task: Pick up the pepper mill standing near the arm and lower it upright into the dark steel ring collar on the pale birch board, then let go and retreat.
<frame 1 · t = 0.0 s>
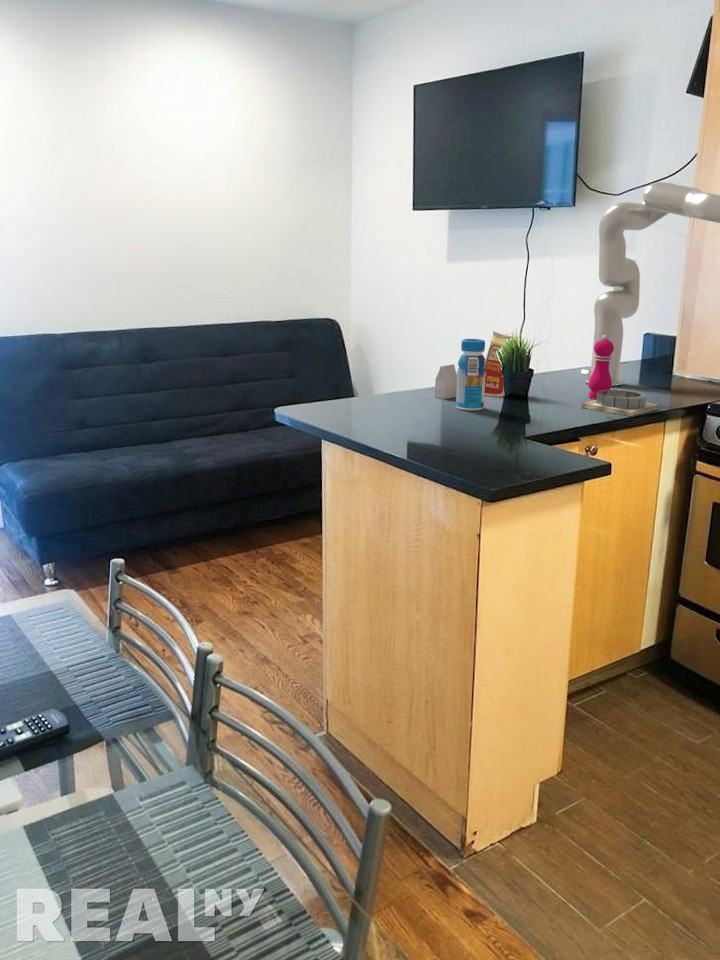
tea bag: (445, 397, 256), on the worktop
pepper mill: (598, 398, 259), on the worktop
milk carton: (496, 394, 263), on the worktop
beverage bottle: (469, 408, 240), on the worktop
birch board: (619, 408, 243), on the worktop
steel ring collar: (620, 398, 242), on the birch board, point 2 cm above the worktop
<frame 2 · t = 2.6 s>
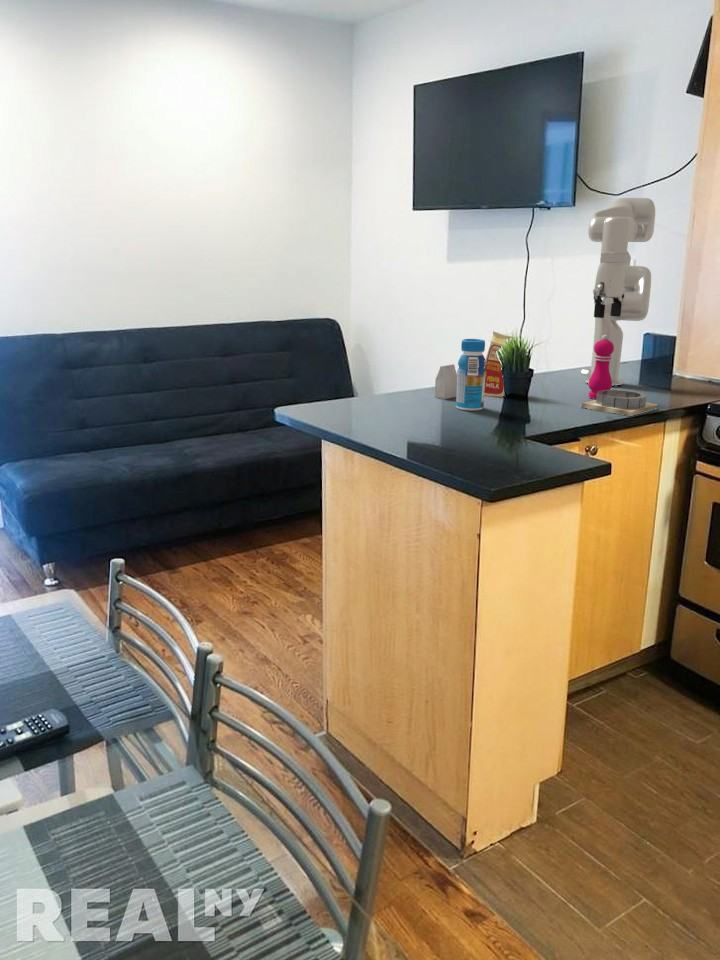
hand: (607, 316, 251), 25 cm above the worktop, tool pointing down, fingers open, 9 cm apart
nothing on the worktop moved.
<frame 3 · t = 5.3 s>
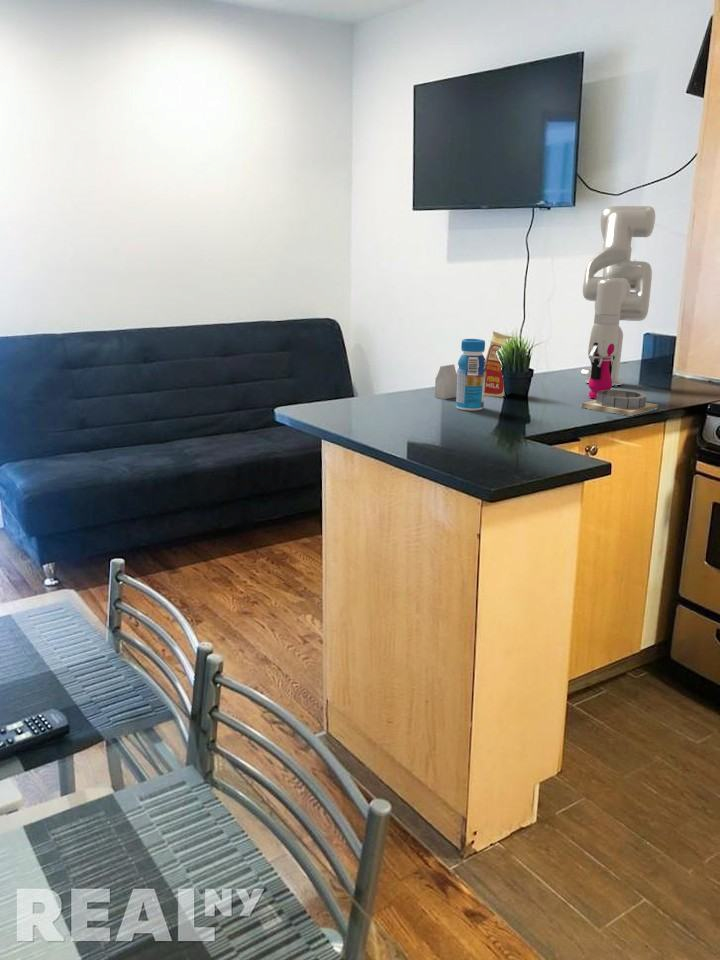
hand: (600, 377, 257), 7 cm above the worktop, tool pointing down, fingers closed on pepper mill, 5 cm apart
pepper mill: (598, 398, 259), on the worktop, touching gripper
everything else where it was.
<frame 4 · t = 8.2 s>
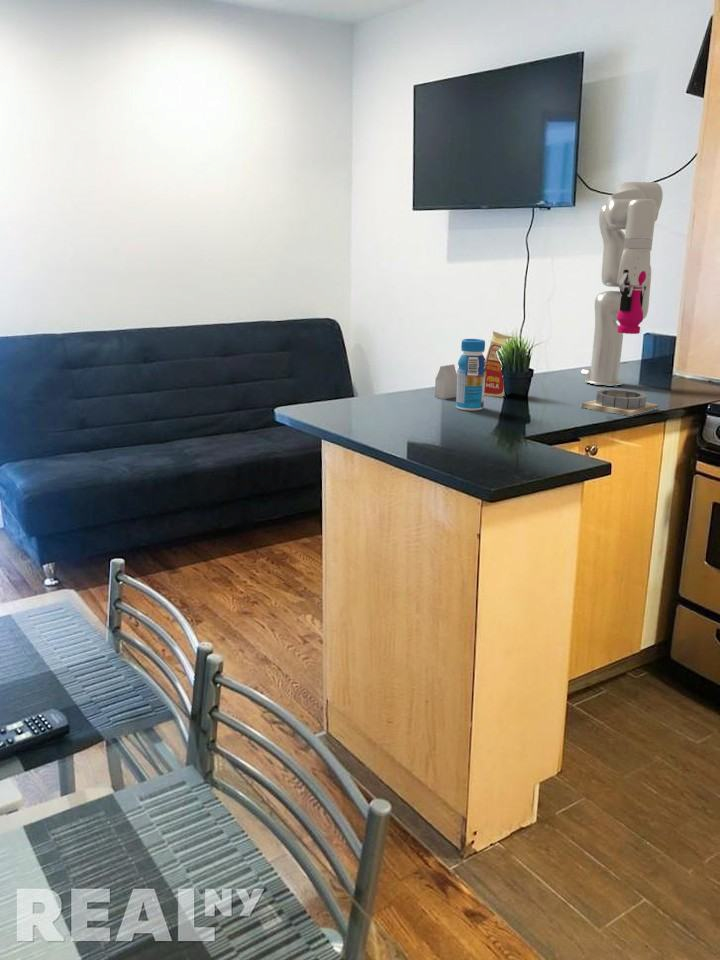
hand: (630, 309, 235), 29 cm above the worktop, tool pointing down, fingers closed on pepper mill, 5 cm apart
pepper mill: (628, 333, 237), point 22 cm above the worktop, touching gripper
everything else where it was.
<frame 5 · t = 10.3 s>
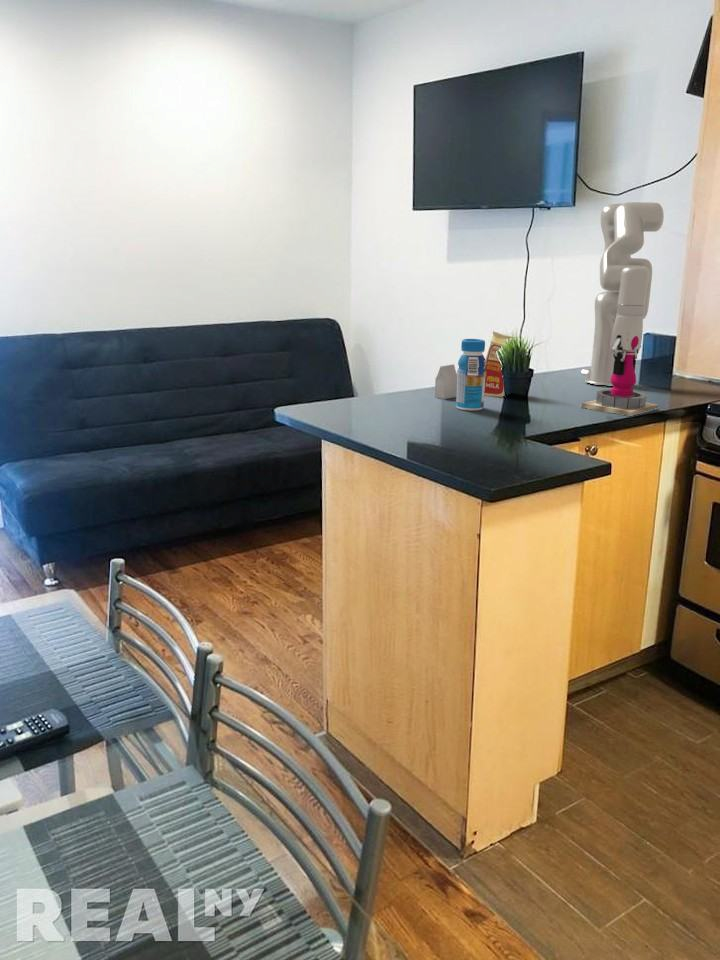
hand: (623, 372, 240), 11 cm above the worktop, tool pointing down, fingers closed on pepper mill, 5 cm apart
pepper mill: (621, 395, 242), point 4 cm above the worktop, touching gripper
everything else where it was.
when the fingers open (9 cm above the worktop, at t = 11.5 s): pepper mill stays where it is, resting on birch board.
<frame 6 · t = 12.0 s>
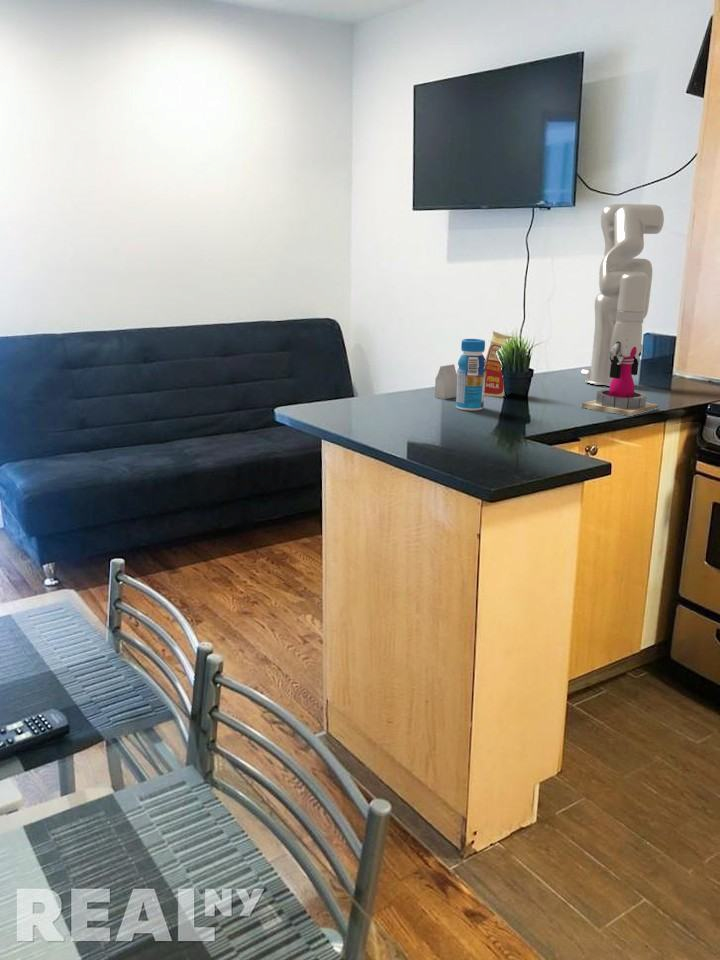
hand: (623, 376, 240), 10 cm above the worktop, tool pointing down, fingers open, 9 cm apart
pepper mill: (620, 404, 243), point 1 cm above the worktop, touching birch board
everything else where it was.
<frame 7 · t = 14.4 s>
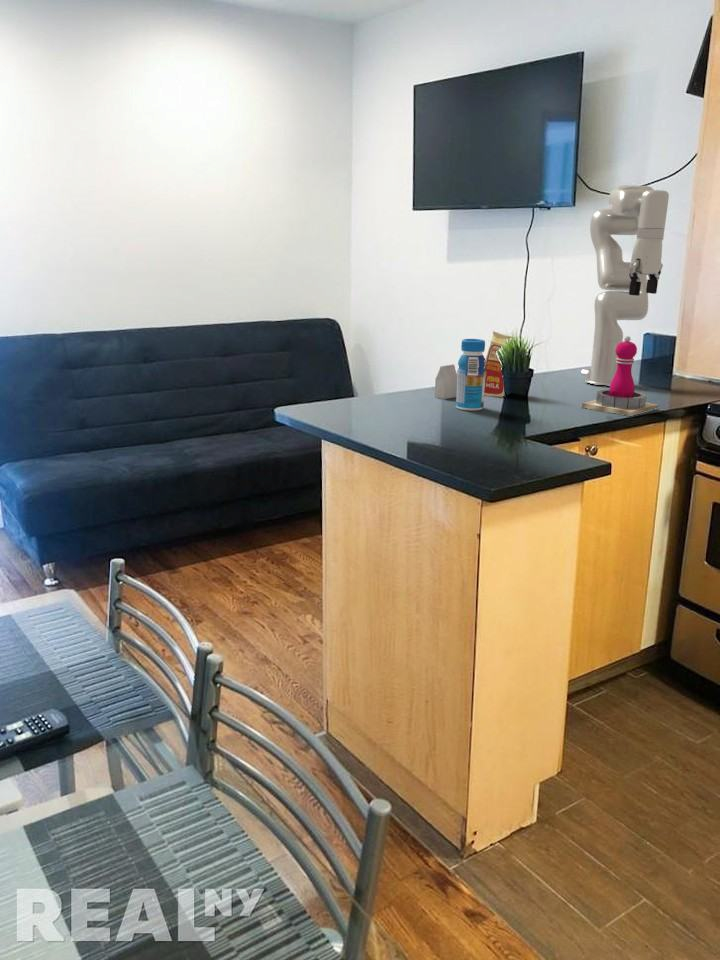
hand: (642, 294, 244), 33 cm above the worktop, tool pointing down, fingers open, 9 cm apart
nothing on the worktop moved.
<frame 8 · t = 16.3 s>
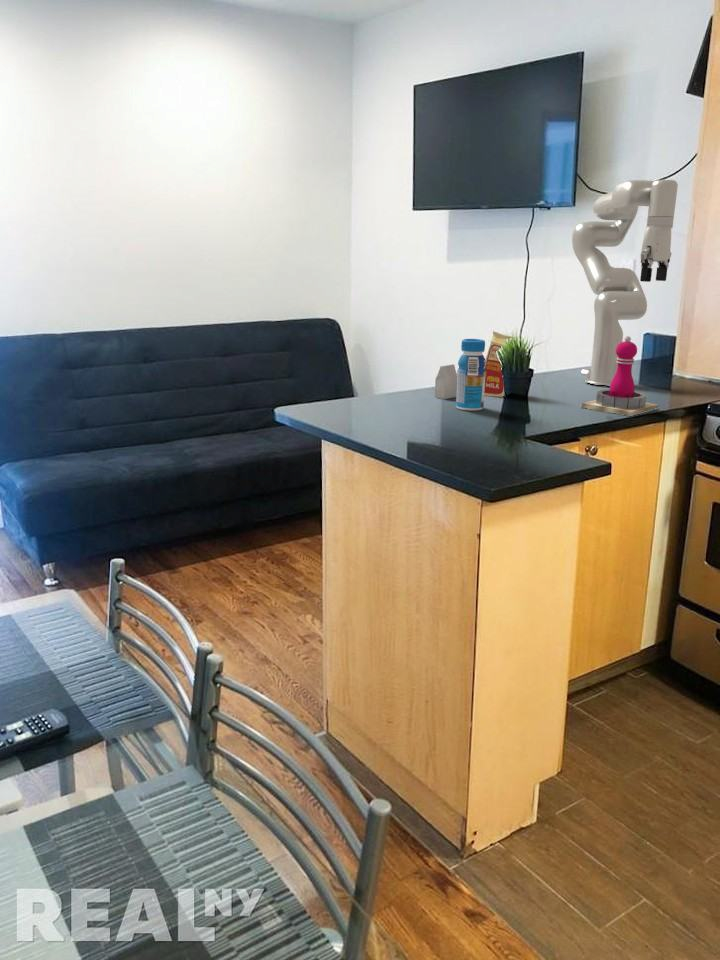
hand: (653, 281, 252), 36 cm above the worktop, tool pointing down, fingers open, 9 cm apart
nothing on the worktop moved.
at the end: pepper mill 0.4 cm off-centre on the steel ring collar, point 1.3 cm above the steel ring collar's base; pepper mill tilted 0°; the gripper is holding nothing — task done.
